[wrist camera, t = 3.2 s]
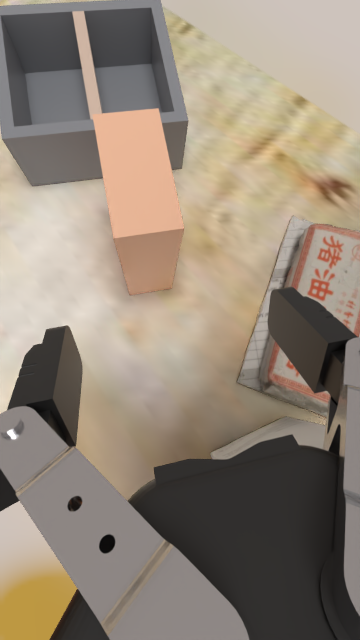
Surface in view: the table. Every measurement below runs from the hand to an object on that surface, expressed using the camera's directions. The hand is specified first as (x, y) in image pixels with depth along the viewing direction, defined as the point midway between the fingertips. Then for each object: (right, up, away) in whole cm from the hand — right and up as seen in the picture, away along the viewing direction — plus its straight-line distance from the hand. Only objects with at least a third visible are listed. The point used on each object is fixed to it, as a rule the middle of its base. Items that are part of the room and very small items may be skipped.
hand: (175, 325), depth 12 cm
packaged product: (+13, +1, +18) cm, 22 cm away
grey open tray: (-8, +21, +19) cm, 30 cm away
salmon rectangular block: (-3, +7, +17) cm, 19 cm away
